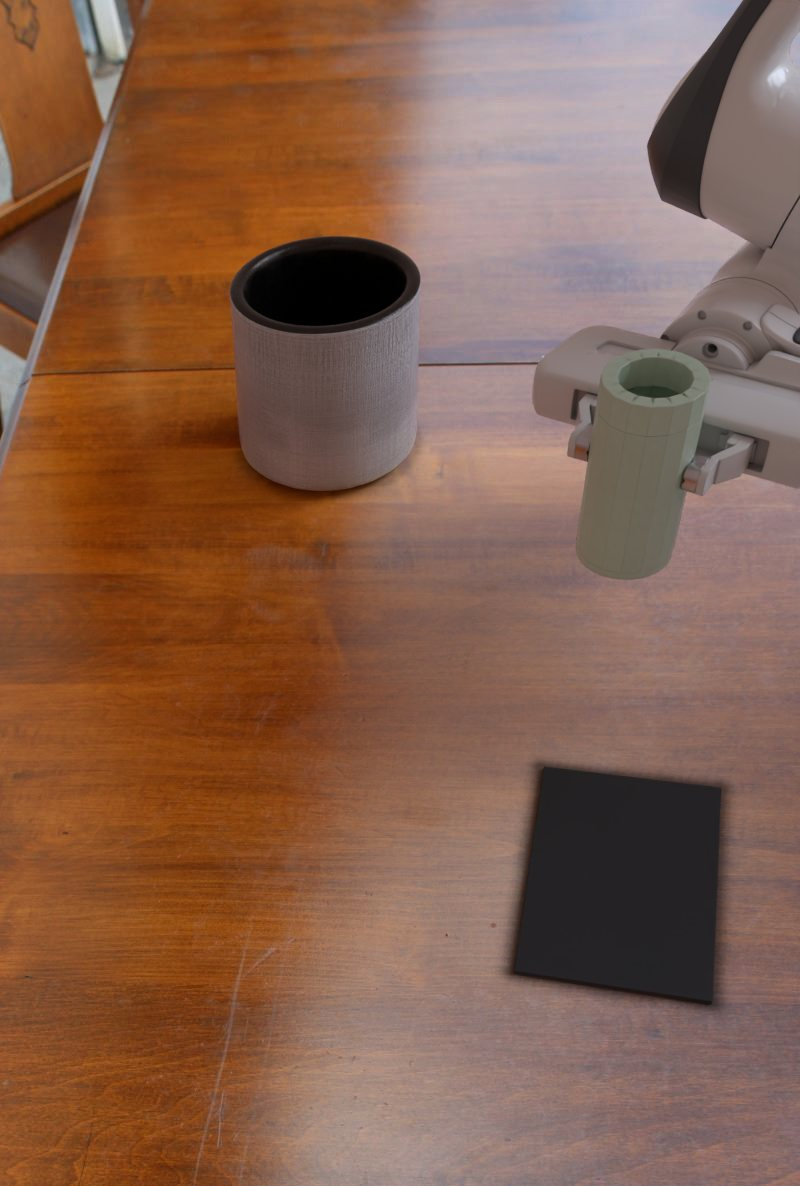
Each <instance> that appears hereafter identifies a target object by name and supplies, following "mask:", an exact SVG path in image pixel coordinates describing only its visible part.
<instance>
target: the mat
mask: <svg viewBox="0 0 800 1186" xmlns="http://www.w3.org/2000/svg"><path fill="white" fill-rule="evenodd" d="M721 802H722V787H721V786H713V785H712V786H711V785H703V784H695V783H687V782H686V783H685V782H677V781H670V780H661V779H653V778H645V777H636V776H628V775H619V774H612V773H603V772H594V771H587V770H586V771H585V770H578V769H577V770H576V769H569V768H560V767H554V766H553V767H551V766H543V769H542V777H541V784H540V791H539V797H538V803H537V811H536V817H535V823H534V831H533V836H532V837H533V838H532V846H531V850H530V851H531V853H530V858H529V864H528V871H527V872H528V873H527V877H526V879H527V880H526V886H525V893H524V900H523V906H522V912H521V920H520V926H519V933H518V939H517V948H516V954H515V960H514V967H513V974H514V975H520V976H526V977H532V978H539V979H544V980H545V979H546V980H551V981H559V982H566V983H571V984H577V985H584V986H589V987H596V988H604V989H609V990H616V991H622V992H629V993H635V994H641V995H642V994H643V995H649V996H655V997H661V998H667V999H675V1000H681V1001H687V1002H693V1003H699V1004H706V1005H712V1004H713V1002H714V1001H713V1000H714V999H713V998H714V977H715V974H714V973H715V952H716V951H715V950H716V927H717V926H716V925H717V905H718V903H717V900H718V879H719V878H718V877H719V855H720V853H719V851H720V827H721V826H720V825H721V806H722V805H721V804H722V803H721Z"/></svg>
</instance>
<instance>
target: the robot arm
mask: <svg viewBox="0 0 800 1186" xmlns="http://www.w3.org/2000/svg"><path fill="white" fill-rule="evenodd" d="M799 33H800V0H742V1H741V2H740V3H739V5H738V6H737V7H736V9H735V10H734V12H733V14H732V15H731V16H730V18H729V19H728V21H727V22H726V24H725V25H724V26H723V28H722V29H721V31H720V32H719V33H718V35H717V36H716V37H715V39H714V40H713V41H712V43H711V44H710V45H709V47H708V48H707V50H706V51H705V52H704V53H702V55H701V56H700V57H699V58H698V60H697V61H695V62H694V63H693V65H692V66H691V67H690V68H689V70H688V71H687V72H686V73H685V74H684V76H682V78H681V79H680V80H679V81H678V83H677V84H676V85H675V87H674V88H673V89H672V90H671V92H670V94H669V95H668V97H667V99H666V100H665V101H664V103H663V105H662V107H661V109H660V111H659V113H658V114H657V116H656V119H655V121H654V124H653V127H652V130H651V134H650V136H649V138H648V140H647V143H646V150H647V158H648V164H649V168H650V173H651V176H652V179H653V183H654V186H655V188H656V191H657V193H658V194H657V195H658V196H659V198H660V200H661V201H662V202H663V203H666V204H669V205H671V206H673V207H675V208H677V209H679V210H681V211H684V212H687V213H689V214H692V215H693V216H696V217H698V218H701V219H703V220H710V221H711V222H713V223H715V224H717V225H718V226H720V227H722V228H724V229H726V230H727V231H729V232H730V233H733V234H734V235H737V236H738V237H740V238H741V239H743V240H745V242H744V243H743V244H742V245H741V246H740V247H739V248H737V250H735V252H733V254H732V255H730V257H729V258H728V259H727V260H726V261H725V262H724V263H723V264H722V265H721V266H720V267H719V269H718V270H717V272H716V273H715V274H714V275H713V277H712V279H711V280H710V282H709V283H708V285H706V286H705V287H704V288H703V289H701V290H700V291H699V292H698V293H697V294H696V295H694V297H693V298H692V299H691V300H690V301H689V302H688V304H687V305H686V306H685V307H684V308H683V309H682V311H680V313H679V314H678V315H677V316H676V317H675V318H674V319H673V320H672V322H671V323H670V324H669V325H668V326H667V327H666V329H665V330H664V331H663V332H662V334H661V335H660V337H656V336H651V335H647V334H643V333H640V332H635V331H631V330H627V329H623V328H619V327H615V326H610V325H591V326H587V327H585V328H582V329H579V330H578V331H576V332H575V333H573V334H571V335H570V336H569V337H567V338H566V339H564V340H563V341H561V342H560V343H559V344H557V345H556V346H555V347H554V348H553V349H551V350H550V351H549V352H548V353H547V354H546V355H544V356H543V357H542V358H541V359H540V360H539V362H538V363H537V364H536V367H535V370H534V375H533V380H532V381H533V382H532V390H531V402H532V406H533V409H534V411H535V413H536V414H537V415H538V416H540V417H543V418H546V419H550V420H553V421H557V422H561V423H563V424H568V425H571V426H574V430H573V431H572V432H571V433H570V436H569V439H568V443H567V451H566V452H567V453H566V456H567V457H568V458H571V459H575V460H578V461H582V462H586V463H588V456H589V450H590V443H591V436H592V430H593V423H594V416H595V409H596V403H597V396H598V390H599V383H600V376H601V373H602V371H603V369H604V368H605V366H606V364H607V363H609V362H610V361H612V360H613V359H615V358H616V357H618V356H619V355H622V354H626V353H629V352H633V351H636V350H643V349H663V350H670V351H676V352H679V353H683V354H685V355H688V356H690V357H693V358H695V359H697V360H698V361H700V362H701V363H702V364H703V365H704V366H705V367H706V368H707V369H708V372H709V375H710V378H711V384H710V389H709V393H708V398H707V402H706V407H705V412H704V416H703V421H702V425H701V430H700V434H699V439H698V443H697V448H696V452H695V457H694V458H693V459H692V463H689V464H688V466H687V467H686V469H685V472H684V476H683V479H684V481H683V483H682V485H681V490H685V491H687V493H692V494H695V495H696V496H700V497H705V495H706V494H707V493H708V492H709V490H710V489H711V488H712V486H713V485H718V484H721V483H724V482H728V481H731V480H734V479H737V478H740V477H741V476H742V475H746V476H751V477H754V478H758V479H761V480H765V481H768V482H772V483H775V484H779V485H783V486H785V487H789V488H792V489H796V490H800V67H798V65H797V64H796V63H795V62H794V60H793V58H792V54H791V47H792V45H793V44H792V43H793V42H794V40H795V39H796V38H797V36H798V34H799Z"/></svg>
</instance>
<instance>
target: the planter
mask: <svg viewBox="0 0 800 1186" xmlns="http://www.w3.org/2000/svg"><path fill="white" fill-rule="evenodd" d="M421 275H422V274H421V272H420V269H419V267H418V265H417V264H416V263H415V261H414V260H413V259H412V258H411V257H410V256H409V255H408V254H406V253H405V252H403V251H402V250H400V249H398V248H396V247H395V246H392V245H390V244H387V243H385V242H382V241H378V240H375V239H370V238H366V237H358V236H348V235H325V236H324V235H323V236H314V237H308V238H301V239H297V240H292V241H289V242H286V243H282V244H280V245H276V246H273V247H271V248H270V249H267V250H264V251H263V252H260V253H259V254H257V255H256V256H254V257H253V258H251V259H249V260H248V261H247V262H246V263H245V264H244V265H243V266H241V267H240V269H239V270H238V271H237V272H236V274H235V275H234V276H233V278H232V280H231V282H230V286H229V303H230V306H229V307H230V317H231V318H230V319H231V328H232V329H231V331H232V344H233V361H234V374H235V375H234V376H235V391H236V407H237V423H238V434H239V443H240V447H241V452H242V455H243V457H244V459H245V460H246V462H247V463H248V464H249V465H250V466H251V468H253V469H254V471H256V472H257V473H259V474H260V475H262V476H264V477H265V478H266V479H269V480H270V481H272V482H273V483H276V484H280V485H282V486H285V487H289V488H292V489H295V490H302V491H311V492H332V491H343V490H348V489H353V488H356V487H359V486H363V485H365V484H366V485H367V484H370V483H371V482H374V481H377V480H378V479H380V478H383V476H385V475H388V474H389V473H391V472H392V471H393V470H395V469H396V468H397V467H398V466H400V465H401V464H402V463H403V462H404V461H405V460H406V459H407V458H408V456H409V455H410V454H411V452H412V450H413V448H414V446H415V443H416V439H417V432H418V423H419V422H418V419H419V378H420V377H419V375H420V374H419V372H420V371H419V370H420V368H419V367H420V364H419V363H420V330H421V329H420V328H421V327H420V326H421V295H422V294H421V293H422V276H421Z"/></svg>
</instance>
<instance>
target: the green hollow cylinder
mask: <svg viewBox="0 0 800 1186" xmlns="http://www.w3.org/2000/svg"><path fill="white" fill-rule="evenodd" d="M710 384H711V378H710V375H709V372H708V369H707V368H706V367H705V366H704V365H703V364H702V363H701V362H700V361H698V360H697V359H695V358H693V357H690V356H688V355H685V354H683V353H679V352H676V351H670V350H663V349H643V350H636V351H633V352H629V353H626V354H622V355H619V356H618V357H616V358H615V359H613V360H612V361H610V362H609V363H607V364H606V366H605V368H604V369H603V371H602V373H601V376H600V383H599V390H598V396H597V403H596V409H595V416H594V423H593V430H592V436H591V443H590V450H589V456H588V462H586V471H585V477H584V484H583V490H582V497H581V504H580V511H579V517H578V523H577V531H576V536H575V541H576V542H575V553H576V556H577V558H578V560H579V562H580V563H581V564H582V565H583V566H584V568H586V569H588V570H589V571H591V572H592V573H594V574H596V575H599V576H601V577H604V578H608V579H613V580H621V581H632V580H633V581H634V580H641V579H645V578H648V577H651V576H654V575H656V574H658V573H659V572H661V571H662V570H663V569H665V568H666V567H667V565H668V564H669V563H670V561H671V559H672V556H673V552H674V549H675V546H676V542H677V538H678V533H679V528H680V524H681V519H682V515H683V510H684V506H685V501H686V496H687V493H688V491H685V490H681V485H682V483H683V481H684V479H683V476H684V472H685V469H686V467H687V466H688V464H689V463H692V459H693V458H694V457H695V452H696V448H697V443H698V439H699V434H700V430H701V425H702V421H703V416H704V412H705V407H706V402H707V398H708V393H709V389H710Z"/></svg>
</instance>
